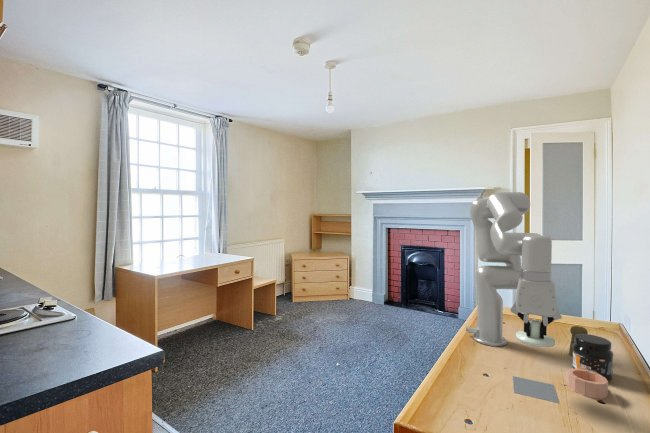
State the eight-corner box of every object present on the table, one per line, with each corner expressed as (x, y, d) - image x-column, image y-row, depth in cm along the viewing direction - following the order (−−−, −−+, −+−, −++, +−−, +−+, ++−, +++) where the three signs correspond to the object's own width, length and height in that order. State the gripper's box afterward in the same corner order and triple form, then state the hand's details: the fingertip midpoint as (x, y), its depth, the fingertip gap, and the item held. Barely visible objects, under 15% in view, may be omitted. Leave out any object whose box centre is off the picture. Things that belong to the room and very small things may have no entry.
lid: (516, 342, 96) (516, 323, 96) (514, 331, 105) (515, 313, 105) (557, 350, 92) (557, 329, 91) (552, 337, 100) (552, 318, 100)
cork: (592, 360, 118) (593, 330, 118) (573, 358, 120) (574, 329, 119) (582, 353, 124) (583, 324, 124) (565, 351, 126) (565, 323, 125)
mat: (514, 394, 96) (514, 392, 96) (512, 377, 106) (512, 376, 106) (559, 405, 91) (559, 403, 91) (553, 386, 101) (553, 384, 101)
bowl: (570, 395, 96) (571, 379, 96) (565, 380, 104) (565, 365, 104) (611, 403, 92) (611, 387, 92) (602, 388, 100) (602, 372, 100)
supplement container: (564, 369, 111) (565, 335, 111) (584, 364, 115) (585, 331, 115) (599, 385, 102) (600, 347, 101) (620, 379, 105) (621, 342, 105)
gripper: (505, 275, 98) (504, 335, 99) (571, 281, 91) (570, 346, 91) (504, 271, 105) (503, 327, 105) (567, 276, 97) (565, 337, 98)
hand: (534, 335), depth 98 cm, fingers closed on lid, 3 cm apart
